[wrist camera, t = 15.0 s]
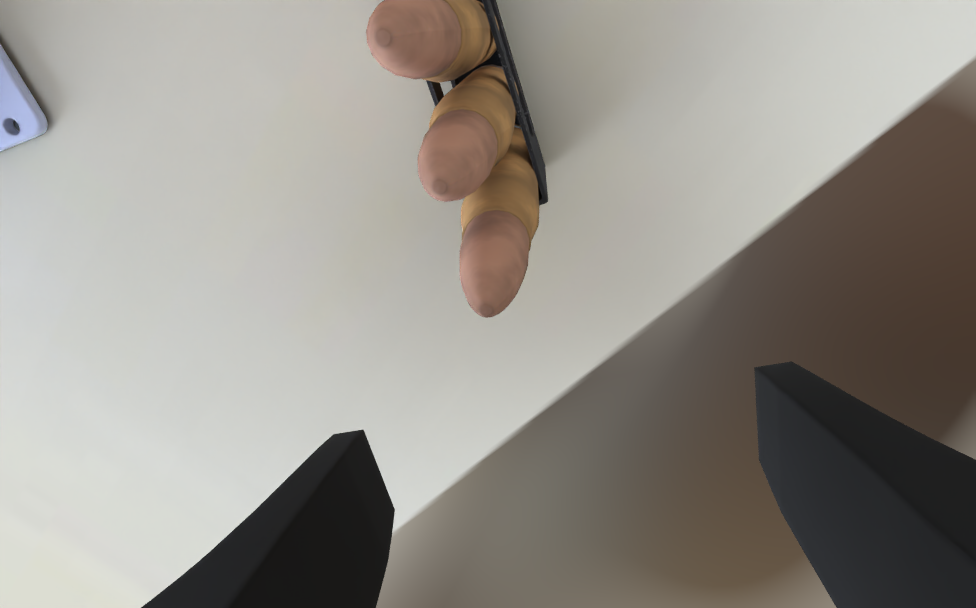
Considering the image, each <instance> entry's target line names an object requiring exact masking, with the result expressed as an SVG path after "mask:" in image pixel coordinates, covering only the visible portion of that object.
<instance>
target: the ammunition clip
mask: <svg viewBox="0 0 976 608" xmlns="http://www.w3.org/2000/svg"><path fill="white" fill-rule="evenodd" d="M366 34H367V43H368V46H369V48H370V51H371V53H372V55H373V57H374V58H375V59H376V60H377V61H378V63H379V64H380V65H381V66H382V67H384V68H385V69H387V70H388V71H390V72H392V73H393V74H395V75H397V76H402V77H407V78H411V79H423V80H426V81H427V84H428V87H429V90H430V92H431V95H432V98H433V101H434V104H435V106H436V107H435V108H434V111H433V114H432V117H431V120H430V123H429V130H428V132H427V133H426V134H425V136H424V139H423V142H422V145H421V148H420V151H419V155H418V173H419V177H420V180H421V182H422V185H423V187H424V189H425V191H426V192H427V193H428V194H429V195H430V196H431V197H433V198H435V199H437V200H440V201H445V202H448V201H454V200H460V199H462V198H464V197H465V198H464V201H463V204H462V207H461V225H462V229H463V232H462V244H461V248H460V280H461V285H462V288H463V291H464V293H465V296H466V298H467V301H468V303H469V305H470V306H471V308H472V309H473V310H474V311H475V312H476V313H477V314H479V315H480V316H482V317H493V316H495V315H497V314H499V313H501V312H502V311H503V310H504V309H505V308H506V307H507V306H508V305H509V304H510V303H511V301H512V300H513V299H514V298H515V296H516V294H517V292H518V290H519V288H520V286H521V284H522V282H523V279H524V276H525V273H526V270H527V266H528V254H529V251H530V247H531V240H532V239H533V236H534V234H535V232H536V230H537V227H538V223H539V205H542V204H545V203H547V202H548V195H547V184H546V173H545V164H544V161H543V157H542V154H541V151H540V147H539V144H538V141H537V137H536V134H535V131H534V127H533V124H532V121H531V117H530V114H529V111H528V107H527V104H526V100H525V97H524V94H523V90H522V87H521V84H520V80H519V77H518V74H517V70H516V67H515V64H514V60H513V57H512V54H511V50H510V47H509V43H508V40H507V37H506V33H505V30H504V27H503V23H502V20H501V17H500V13H499V10H498V7H497V3H496V0H384V1H383V2H381V3H380V4H379V5H378V6H377V7H376V9H375V10H374V12H373V13H372V15H371V16H370V18H369V22H368V26H367V30H366ZM445 81H451V84H452V87H453V89H452V90H451V91H450V92H448V93H447V94H446V95H445V96H444V94H443V92H442V89H441V86H440V83H439V82H445Z"/></svg>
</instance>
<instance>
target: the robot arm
mask: <svg viewBox="0 0 976 608" xmlns="http://www.w3.org/2000/svg"><path fill="white" fill-rule="evenodd" d="M13 120H15V121H16V122H17V123H18V125H19V127H20V132H19V131H18V130H17V129H16V128H15V127H14V124H13ZM47 127H48V125H47V119H46V117H45V115H44V113H43V112H42V110H41V108H40V107H39V105H38V104H37V102H36V100H35V99H34V97H33V96H32V94H31V92H30V91H29V89H28V88H27V86H26V84H25V83H24V81H23V80H22V78H21V76H20V75H19V73H18V71H17V70H16V68H15V67H14V65H13V63H12V62H11V60H10V59H9V57H8V55H7V54H6V52H5V51H4V49H3V47H2V46H1V44H0V152H1V151H3V150H6V149H8V148H11V147H13V146H16V145H18V144H21V143H23V142H26V141H28V140H31V139H33V138H35V137H38V136H40V135H42V134H44V133H45V132H46V130H47ZM755 387H756V407H757V426H758V445H759V446H758V447H759V461H760V463H761V466H762V468H763V471H764V473H765V475H766V478H767V480H768V483H769V485H770V487H771V490H772V492H773V494H774V496H775V499H776V501H777V503H778V506H779V507H780V510H781V513H782V514H783V516H784V518H785V520H786V521H787V523H788V525H789V527H790V528H791V530H792V532H793V534H794V535H795V537H796V539H797V541H798V542H799V544H800V546H801V547H802V549H803V551H804V553H805V554H806V556H807V558H808V560H809V561H810V563H811V564H812V566H813V568H814V570H815V571H816V573H817V575H818V577H819V578H820V580H821V582H822V583H823V585H824V587H825V588H826V590H827V592H828V594H829V595H830V597H831V599H832V601H833V602H834V604H835V605H836V607H837V608H976V460H975V459H973V458H971V457H969V456H967V455H965V454H963V453H960V452H958V451H956V450H954V449H952V448H950V447H948V446H946V445H944V444H942V443H940V442H938V441H935V440H934V439H931V438H929V437H927V436H926V435H924V434H922V433H920V432H918V431H916V430H914V429H912V428H910V427H908V426H906V425H904V424H902V423H900V422H898V421H897V420H895V419H893V418H891V417H889V416H887V415H886V414H884V413H882V412H880V411H878V410H876V409H874V408H873V407H871V406H869V405H867V404H866V403H864V402H862V401H860V400H859V399H857V398H855V397H853V396H851V395H850V394H848V393H846V392H845V391H843V390H841V389H839V388H837V387H836V386H834V385H832V384H830V383H829V382H827V381H825V380H823V379H822V378H820V377H818V376H817V375H815V374H813V373H811V372H810V371H808V370H806V369H804V368H802V367H801V366H799V365H797V364H795V363H793V362H787V363H781V364H773V365H767V366H761V367H755ZM394 511H395V509H394V507H393V504H392V502H391V499H390V496H389V494H388V491H387V489H386V486H385V484H384V481H383V479H382V476H381V473H380V471H379V468H378V466H377V463H376V461H375V458H374V455H373V453H372V450H371V448H370V445H369V443H368V440H367V438H366V435H365V432H364V430H358V431H352V432H345V433H339V434H334V435H333V436H331V437H330V438H329V439H328V440H327V441H326V442H324V443H323V444H322V445H321V446H320V447H319V448H318V449H317V450H316V451H315V452H314V453H313V454H312V455H311V456H310V457H309V458H308V459H307V460H306V461H305V462H304V463H303V464H302V465H301V466H300V467H299V468H298V469H297V470H296V471H295V472H294V473H293V474H291V475H290V476H289V477H288V478H287V479H286V480H285V481H284V482H283V483H282V484H281V485H280V486H279V487H278V488H277V489H276V490H275V491H274V492H273V493H272V494H271V495H270V496H269V497H268V498H267V499H266V500H265V501H264V502H263V503H262V504H261V505H260V506H259V507H258V508H257V509H256V510H255V511H254V512H253V513H252V514H251V515H250V516H248V517H247V518H246V519H245V520H244V521H243V522H242V523H241V524H240V525H239V526H238V527H236V528H235V529H234V530H233V531H232V532H231V533H230V534H229V535H228V536H227V537H226V538H224V539H223V540H222V541H221V542H220V543H219V544H218V545H217V546H216V547H215V548H214V549H212V550H211V551H210V552H209V553H208V554H207V555H206V556H205V557H203V558H202V559H201V560H200V561H199V562H198V563H197V564H195V565H194V566H193V567H192V568H191V569H189V570H188V571H187V572H186V573H185V574H183V575H182V576H181V577H180V578H178V579H177V580H176V581H175V582H173V583H172V584H171V585H170V586H168V587H167V588H166V589H165V590H163V591H162V592H161V593H160V594H158V595H157V596H156V597H154V598H153V599H152V600H151V601H149V602H148V603H147V604H145V605H144V606H143V607H141V608H376V605H377V601H378V597H379V593H380V590H381V586H382V581H383V578H384V574H385V571H386V566H387V562H388V557H389V550H390V544H391V537H392V528H393V520H394Z"/></svg>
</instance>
